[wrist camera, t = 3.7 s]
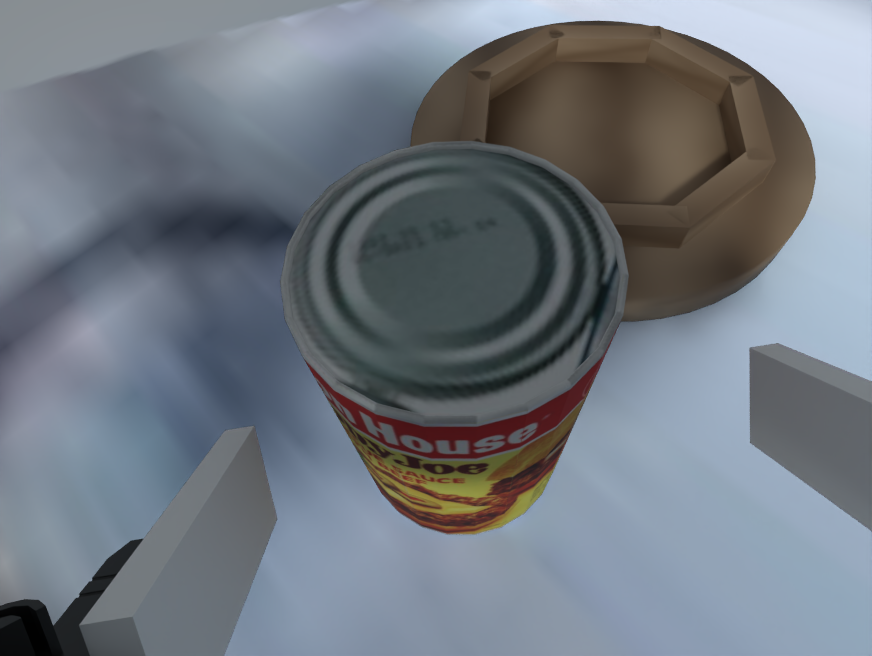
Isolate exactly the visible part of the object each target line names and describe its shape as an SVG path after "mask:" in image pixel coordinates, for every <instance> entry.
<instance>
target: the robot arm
mask: <svg viewBox="0 0 872 656" xmlns="http://www.w3.org/2000/svg"><path fill="white" fill-rule="evenodd" d="M750 443H751V444H753V445H754V446H755V447H757V448H758V449H759V450H761V451H762V452H764V453H765V454H766V455H768V456H769V457H770V458H772V459H773V460H775V461H776V462H777V463H779V464H780V465H781V466H783V467H784V468H785V469H787V470H788V471H790V472H791V473H792V474H794V475H795V476H796V477H798V478H799V479H801V480H802V481H803V482H805V483H806V484H807V485H809V486H810V487H812V488H813V489H814V490H816V491H817V492H818V493H820V494H821V495H823V496H824V497H825V498H827V499H828V500H829V501H831V502H832V503H834V504H835V505H836V506H838V507H839V508H840V509H842V510H843V511H845V512H846V513H847V514H849V515H850V516H851V517H853V518H854V519H856V520H857V521H858V522H860V523H861V524H862V525H864V526H865V527H867V528H868V529H869V530H871V531H872V381H869V380H867V379H864V378H862V377H860V376H857V375H855V374H852V373H850V372H847V371H845V370H842V369H840V368H837V367H835V366H833V365H830V364H828V363H825V362H823V361H820V360H818V359H815V358H813V357H810V356H808V355H806V354H803V353H801V352H798V351H796V350H793V349H791V348H788V347H786V346H783V345H781V344H779V343H776V344H770V345H764V346H757V347H751V348H750ZM276 521H277V516H276V512H275V508H274V504H273V499H272V495H271V491H270V487H269V483H268V479H267V475H266V471H265V467H264V463H263V459H262V455H261V451H260V446H259V442H258V438H257V434H256V430H255V426H249V427H243V428H237V429H230V430H225V431H224V432H223V434H222V435H221V436H220V438H219V439H218V440H217V442H216V443H215V444H214V446H213V447H212V448H211V450H210V451H209V452H208V454H207V455H206V456H205V458H204V459H203V460H202V462H201V463H200V464H199V466H198V467H197V468H196V470H195V471H194V472H193V474H192V475H191V476H190V478H189V479H188V480H187V482H186V483H185V484H184V486H183V487H182V488H181V490H180V491H179V492H178V494H177V495H176V496H175V498H174V499H173V500H172V502H171V503H170V504H169V506H168V507H167V508H166V510H165V511H164V512H163V514H162V515H161V516H160V518H159V519H158V520H157V522H156V523H155V524H154V526H153V527H152V528H151V530H150V531H149V532H148V534H147V535H146V536H145V538H144V539H139V540H132V541H130V542H129V543H127V544H126V545H125V546H124V547H122V548H121V549H120V550H118V551H117V552H116V553H114V554H113V555H112V556H111V557H109V558H108V559H107V560H106V561H105V563H104V564H103V565H102V566H101V568H100V569H99V570H98V571H97V573H96V574H95V575H94V576H93V578H92V581H90V582H88V584H87V585H86V586H85V587H84V589H83V590H82V591H81V592H80V594H79V595H80V596H79V598H76V599H75V600H74V601H73V602H72V604H71V605H70V606H69V607H68V609H67V610H66V611H65V612H64V613H63V615H62V616H61V617H60V618H59V620H58V621H57V622H56V623H55V625H54V626H53V624H52V622H51V619H50V616H49V614H48V611H47V608H46V606H45V605H44V604H43V603H42V602H40V601H39V600H28V599H24V600H20V601H16V602H11V603H7V604H4V605H2V606H0V656H224V655H225V652H226V650H227V647H228V644H229V642H230V639H231V637H232V634H233V632H234V629H235V626H236V624H237V621H238V619H239V616H240V613H241V611H242V608H243V606H244V603H245V601H246V598H247V595H248V593H249V590H250V588H251V585H252V583H253V580H254V577H255V575H256V572H257V570H258V567H259V564H260V562H261V559H262V557H263V554H264V552H265V549H266V546H267V544H268V541H269V539H270V536H271V533H272V531H273V528H274V526H275V523H276Z"/></svg>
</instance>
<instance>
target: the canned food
mask: <svg viewBox="0 0 872 656" xmlns="http://www.w3.org/2000/svg"><path fill="white" fill-rule="evenodd" d="M628 278H629V275H628V269H627V264H626V259H625V254H624V248H623V243H622V239H621V237H620V235H619V233H618V231H617V230H616V228H615V226H614V224H613V222H612V220H611V219H610V217H609V215H608V213H607V211H606V209H605V208H604V206H603V205H602V204H601V203H600V202H599V201H598V200H597V199H596V198H595V197H594V196H593V195H592V194H591V193H590V192H589V191H588V190H587V189H586V188H585V187H584V186H583V184H582V183H581V182H580V181H579V180H577V179H576V178H574V177H573V176H571V175H569V174H568V173H566V172H565V171H563V170H561V169H560V168H558V167H557V166H555V165H553V164H552V163H550V162H549V161H547V160H545V159H542V158H540V157H537V156H534V155H531V154H528V153H526V152H523V151H520V150H517V149H515V148H512V147H508V146H502V145H495V144H488V143H482V142H475V141H453V142H431V143H426V144H422V145H417V146H413V147H408V148H403V149H399V150H395V151H392V152H390V153H388V154H385V155H383V156H380V157H378V158H376V159H373V160H371V161H369V162H366V163H364V164H362V165H360V166H358V167H357V168H355V169H354V170H352V171H351V172H349V173H348V174H347V175H345V176H344V177H342V178H341V179H339V180H338V181H336V182H335V183H333V184H332V185H331V186H329V187H328V188H327V189H326V190H325V192H324V193H323V194H322V195H321V196H320V197H319V198H318V199H317V200H316V201H315V202H314V204H313V205H312V206H311V207H310V208H309V209H308V210H307V211H306V212H305V213H304V215H303V217H302V219H301V221H300V223H299V225H298V227H297V228H296V230H295V232H294V234H293V236H292V238H291V240H290V242H289V244H288V246H287V249H286V255H285V260H284V265H283V270H282V275H281V280H280V285H281V293H282V301H283V309H284V317H285V321H286V323H287V325H288V327H289V329H290V331H291V333H292V335H293V338H294V340H295V342H296V344H297V346H298V348H299V350H300V352H301V354H302V356H303V358H304V360H305V361H306V363H307V365H308V367H309V368H310V370H311V372H312V373H313V375H314V377H315V379H316V380H317V382H318V384H319V386H320V387H321V389H322V391H323V393H324V394H325V396H326V398H327V400H328V401H329V403H330V405H331V406H332V408H333V410H334V412H335V413H336V415H337V417H338V419H339V420H340V422H341V424H342V426H343V427H344V429H345V431H346V432H347V434H348V436H349V438H350V439H351V441H352V443H353V445H354V446H355V448H356V450H357V452H358V453H359V455H360V457H361V459H362V460H363V462H364V464H365V465H366V467H367V469H368V471H369V472H370V474H371V476H372V478H373V479H374V481H375V483H376V485H377V486H378V488H379V490H380V492H381V493H382V495H383V496H384V497H385V498H386V499H387V500H388V501H389V502H390V503H391V504H392V506H393V507H394V508H395V509H396V510H397V511H398V512H399V513H400V514H402V515H403V516H405V517H406V518H408V519H410V520H411V521H413V522H414V523H416V524H418V525H419V526H421V527H423V528H427V529H430V530H434V531H437V532H441V533H444V534H447V535H476V534H480V533H483V532H487V531H491V530H494V529H498V528H501V527H503V526H505V525H506V524H508V523H510V522H511V521H513V520H515V519H516V518H518V517H519V516H521V515H523V514H524V513H525V512H526V511H527V510H528V509H529V508H530V507H531V506H532V505H533V503H534V502H535V501H536V500H537V499H538V498H539V497H540V496H541V495H542V493H543V491H544V489H545V487H546V485H547V483H548V481H549V479H550V477H551V475H552V473H553V471H554V469H555V466H556V464H557V462H558V460H559V457H560V455H561V453H562V451H563V449H564V446H565V444H566V442H567V440H568V437H569V435H570V433H571V431H572V428H573V426H574V424H575V422H576V420H577V417H578V415H579V413H580V411H581V408H582V406H583V404H584V402H585V399H586V397H587V395H588V393H589V391H590V388H591V386H592V384H593V382H594V379H595V377H596V375H597V373H598V370H599V368H600V366H601V364H602V362H603V359H604V357H605V355H606V353H607V350H608V348H609V346H610V344H611V341H612V339H613V337H614V335H615V333H616V330H617V328H618V326H619V324H620V321H621V319H622V317H623V313H624V306H625V299H626V292H627V285H628Z"/></svg>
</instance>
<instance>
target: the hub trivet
mask: <svg viewBox="0 0 872 656" xmlns="http://www.w3.org/2000/svg"><path fill="white" fill-rule="evenodd" d="M453 141H475V142H482V143H488V144H495V145H502V146H508V147H512V148H515V149H517V150H520V151H523V152H526V153H528V154H531V155H534V156H537V157H540V158H542V159H545V160H547V161H549V162H550V163H552V164H553V165H555V166H557V167H558V168H560V169H561V170H563V171H565V172H566V173H568V174H569V175H571V176H573V177H574V178H576V179H577V180H579V181H580V182H581V183H582V184H583V186H584V187H585V188H586V189H587V190H588V191H589V192H590V193H591V194H592V195H593V196H594V197H595V198H596V199H597V200H598V201H599V202H600V203H601V204H602V205H603V206H604V208H605V209H606V211H607V213H608V215H609V217H610V219H611V220H612V222H613V224H614V226H615V228H616V230H617V231H618V233H619V235H620V237H621V239H622V243H623V248H624V254H625V259H626V264H627V269H628V275H629V278H628V285H627V292H626V299H625V306H624V313H623V317H622V319H621V321H643V320H652V319H662V318H666V317H671V316H675V315H680V314H684V313H689V312H692V311H694V310H697V309H700V308H703V307H706V306H708V305H711V304H714V303H716V302H718V301H720V300H722V299H724V298H726V297H727V296H729V295H731V294H733V293H735V292H737V291H738V290H740V289H741V288H742V287H744V286H745V285H746V284H748V283H749V282H751V281H752V280H753V279H755V278H756V277H757V276H758V275H759V274H760V273H761V272H762V271H763V270H764V269H765V268H766V267H767V266H768V265H769V264H770V263H771V262H772V260H773V259H774V258H775V256H776V255H777V254H778V252H779V251H780V250H781V249H782V247H783V246H784V245H785V243H786V242H787V241H788V239H789V238H790V237H791V235H792V234H793V233H794V231H795V230H796V228H797V227H798V225H799V224H800V222H801V221H802V219H803V218H804V216H805V214H806V211H807V209H808V206H809V204H810V201H811V199H812V195H813V190H814V184H815V179H816V176H815V157H814V152H813V148H812V143H811V140H810V137H809V135H808V133H807V130H806V128H805V126H804V123H803V122H802V120H801V118H800V117H799V115H798V114H797V112H796V110H795V109H794V107H793V106H792V105H791V103H790V102H789V101H788V100H787V99H786V97H785V96H784V95H783V94H782V93H781V92H780V90H779V89H777V88H776V87H775V86H774V85H773V84H772V83H771V82H770V81H769V80H768V79H767V78H765V77H764V76H763V75H762V74H760V73H759V72H758V71H756V70H755V69H754V68H752V67H751V66H749V65H748V64H747V63H745V62H743V61H742V60H740V59H738V58H737V57H735V56H733V55H731V54H730V53H728V52H726V51H724V50H722V49H720V48H717V47H715V46H713V45H711V44H709V43H707V42H704V41H701V40H699V39H696V38H693V37H690V36H688V35H685V34H681V33H677V32H674V31H670V30H667V29H664V28H662V27H660V26H647V25H642V24H634V23H626V22H614V21H575V22H565V23H556V24H550V25H545V26H539V27H534V28H530V29H526V30H523V31H519V32H516V33H512V34H510V35H507V36H504V37H502V38H499V39H496V40H494V41H492V42H490V43H488V44H486V45H484V46H482V47H480V48H478V49H476V50H474V51H473V52H471V53H469V54H468V55H466V56H465V57H463V58H462V59H460V60H459V61H458V62H456V63H455V64H454V65H453V66H452V67H450V68H449V69H448V70H447V71H446V72H445V73H444V74H443V75H442V76H441V77H440V78H439V79H438V80H437V81H436V82H435V83H434V85H433V86H432V87H431V89H430V90H429V92H428V93H427V94H426V96H425V97H424V99H423V101H422V103H421V105H420V107H419V109H418V111H417V114H416V117H415V121H414V124H413V128H412V135H411V145H410V147H413V146H417V145H422V144H426V143H431V142H453Z"/></svg>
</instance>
